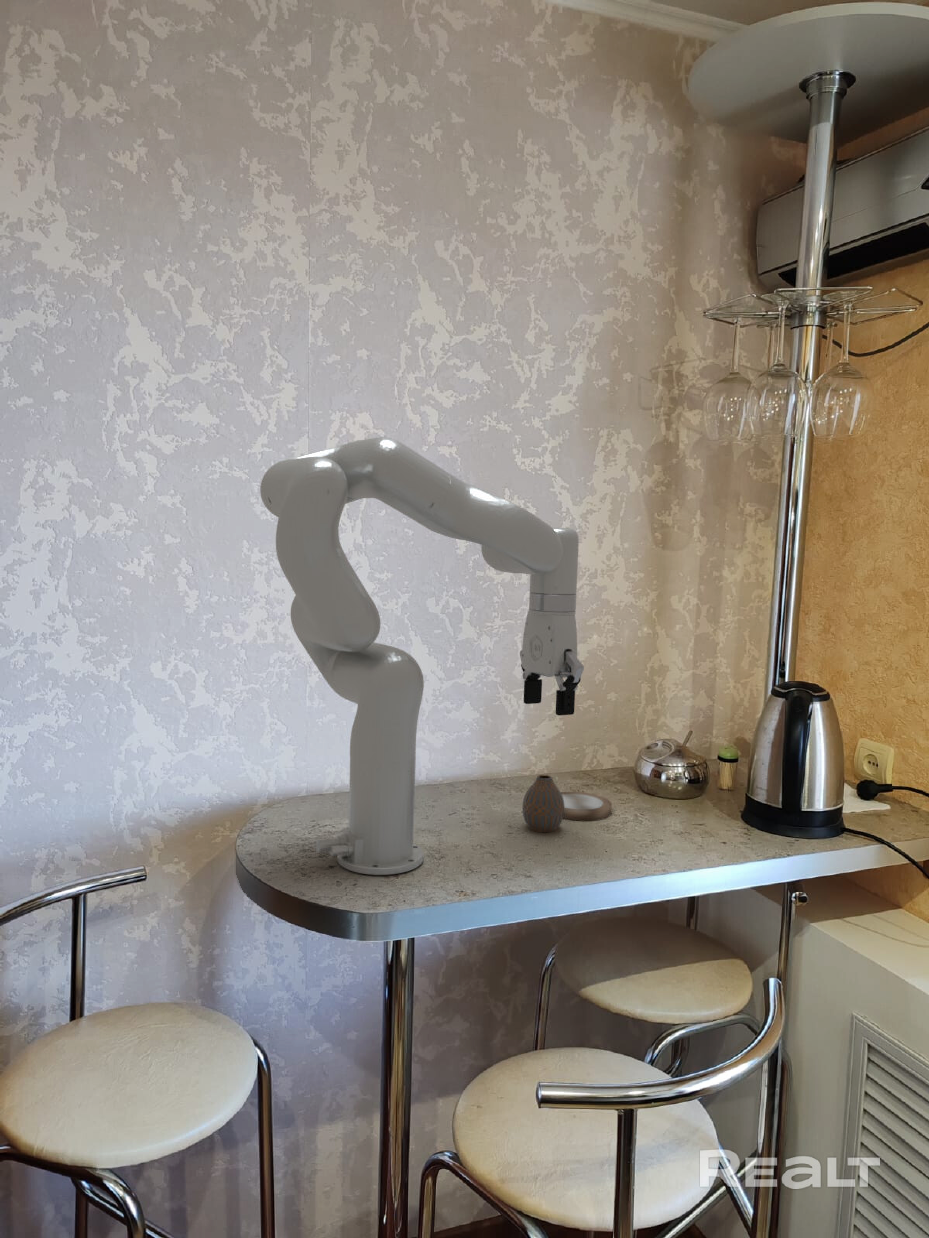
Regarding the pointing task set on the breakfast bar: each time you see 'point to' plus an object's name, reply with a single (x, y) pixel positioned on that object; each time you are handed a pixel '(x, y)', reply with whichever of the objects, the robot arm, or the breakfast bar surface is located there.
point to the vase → (543, 805)
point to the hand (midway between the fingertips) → (548, 708)
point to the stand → (585, 806)
